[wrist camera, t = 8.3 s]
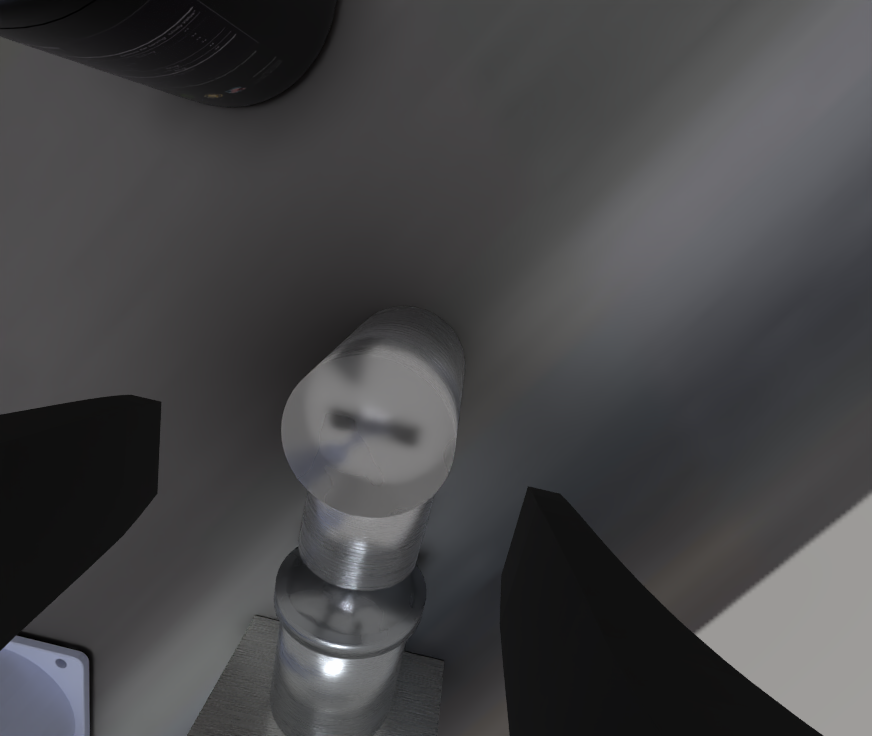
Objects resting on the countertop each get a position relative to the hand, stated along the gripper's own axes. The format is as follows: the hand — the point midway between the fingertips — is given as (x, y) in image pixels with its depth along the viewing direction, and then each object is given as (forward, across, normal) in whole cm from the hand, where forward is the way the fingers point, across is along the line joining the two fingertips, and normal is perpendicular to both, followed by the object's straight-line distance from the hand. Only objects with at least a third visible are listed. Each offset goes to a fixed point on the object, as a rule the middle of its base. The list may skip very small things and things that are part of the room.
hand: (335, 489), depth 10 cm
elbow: (+8, 0, +2) cm, 8 cm away
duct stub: (+8, 0, +10) cm, 13 cm away
